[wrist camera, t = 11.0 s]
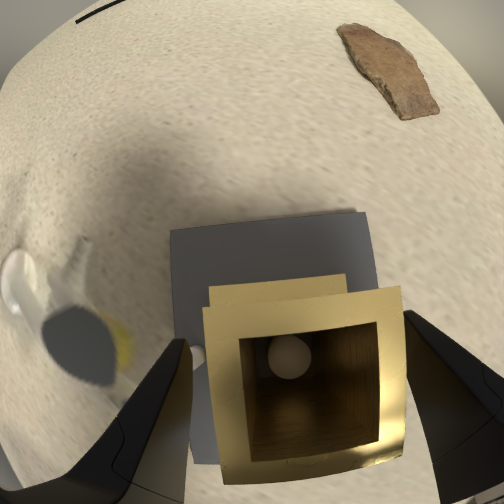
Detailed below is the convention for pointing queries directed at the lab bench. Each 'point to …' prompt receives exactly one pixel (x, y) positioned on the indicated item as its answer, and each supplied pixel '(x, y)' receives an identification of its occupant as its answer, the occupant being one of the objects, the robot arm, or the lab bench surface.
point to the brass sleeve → (306, 379)
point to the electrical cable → (98, 10)
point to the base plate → (253, 271)
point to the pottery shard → (390, 71)
